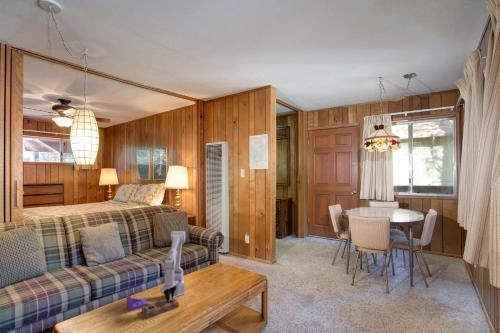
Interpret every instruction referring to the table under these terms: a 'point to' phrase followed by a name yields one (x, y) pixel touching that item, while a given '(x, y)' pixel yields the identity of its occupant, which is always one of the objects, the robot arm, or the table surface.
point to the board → (159, 307)
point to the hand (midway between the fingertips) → (169, 298)
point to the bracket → (135, 303)
